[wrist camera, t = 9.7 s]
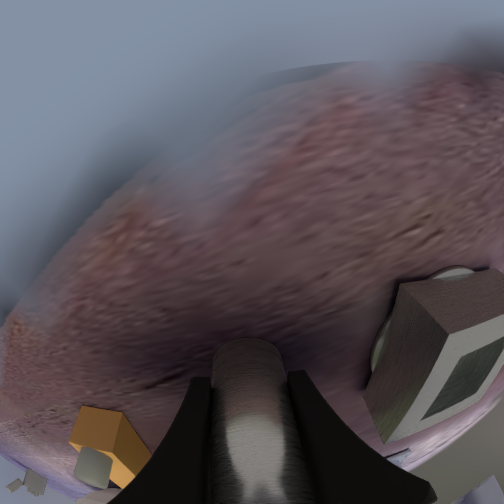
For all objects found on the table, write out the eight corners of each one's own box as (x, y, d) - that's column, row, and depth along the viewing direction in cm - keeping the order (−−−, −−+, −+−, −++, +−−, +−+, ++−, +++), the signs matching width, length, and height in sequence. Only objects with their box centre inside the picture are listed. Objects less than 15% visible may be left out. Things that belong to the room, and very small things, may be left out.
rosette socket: (452, 364, 14) (479, 401, 10) (354, 396, 13) (376, 449, 10) (494, 260, 11) (539, 292, 7) (391, 273, 10) (446, 329, 7)
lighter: (47, 479, 24) (39, 510, 16) (45, 479, 24) (38, 509, 17) (15, 458, 21) (5, 489, 14) (14, 459, 22) (4, 489, 14)
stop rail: (165, 471, 17) (161, 518, 12) (133, 466, 16) (126, 512, 12) (122, 412, 13) (105, 482, 8) (82, 405, 12) (60, 468, 8)
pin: (279, 380, 12) (307, 515, 6) (216, 385, 12) (218, 522, 5) (282, 334, 11) (323, 497, 4) (209, 339, 11) (203, 508, 4)
